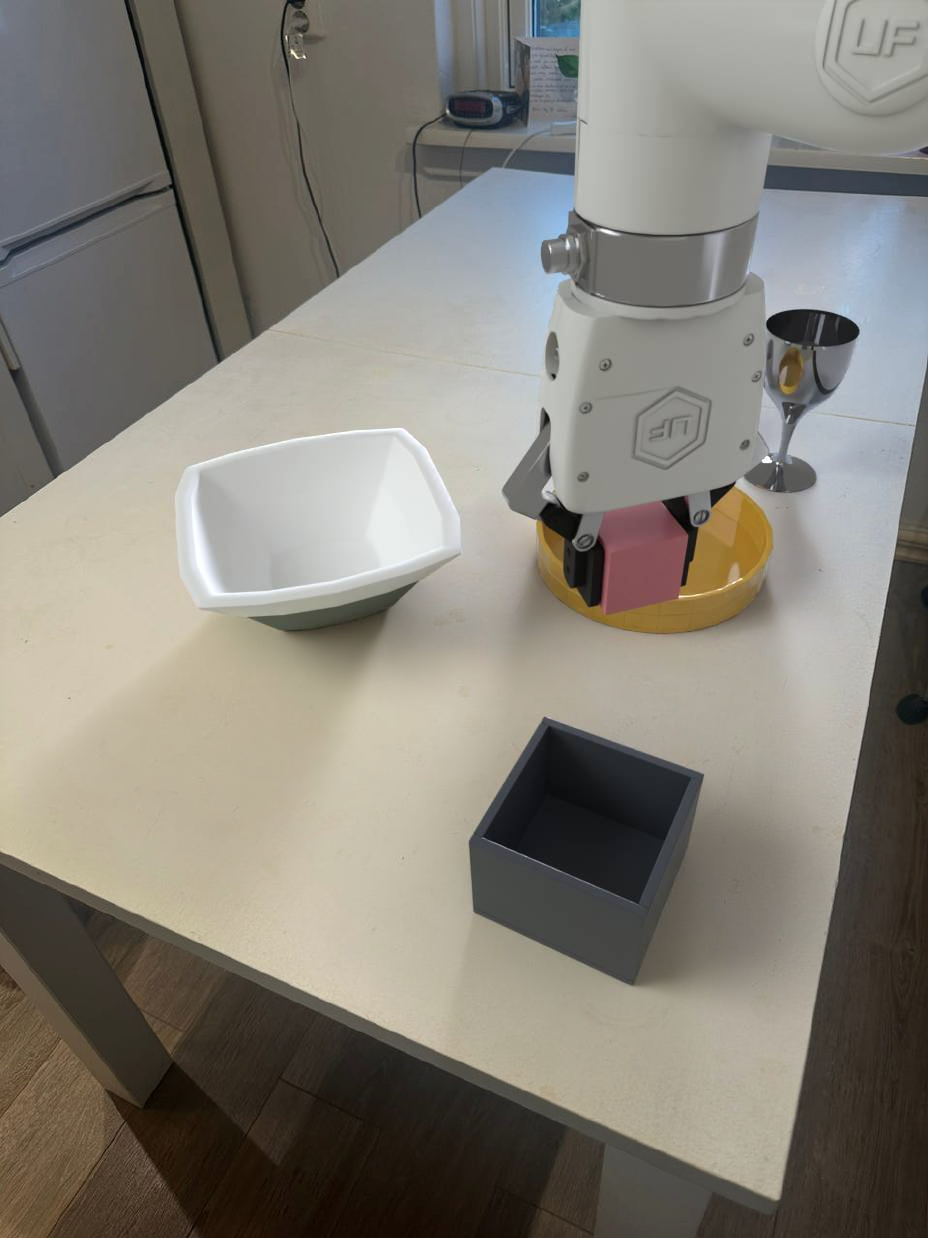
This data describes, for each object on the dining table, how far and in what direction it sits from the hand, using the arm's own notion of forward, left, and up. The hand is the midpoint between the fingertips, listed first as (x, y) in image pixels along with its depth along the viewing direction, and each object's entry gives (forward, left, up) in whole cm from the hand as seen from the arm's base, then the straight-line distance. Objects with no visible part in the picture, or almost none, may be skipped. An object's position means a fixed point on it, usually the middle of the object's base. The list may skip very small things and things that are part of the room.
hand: (626, 579), depth 49 cm
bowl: (+15, -27, -17) cm, 35 cm away
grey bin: (+5, +7, -17) cm, 19 cm away
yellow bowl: (-13, -21, -17) cm, 30 cm away
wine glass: (-31, -29, -17) cm, 46 cm away
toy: (0, 0, 0) cm, 0 cm away
